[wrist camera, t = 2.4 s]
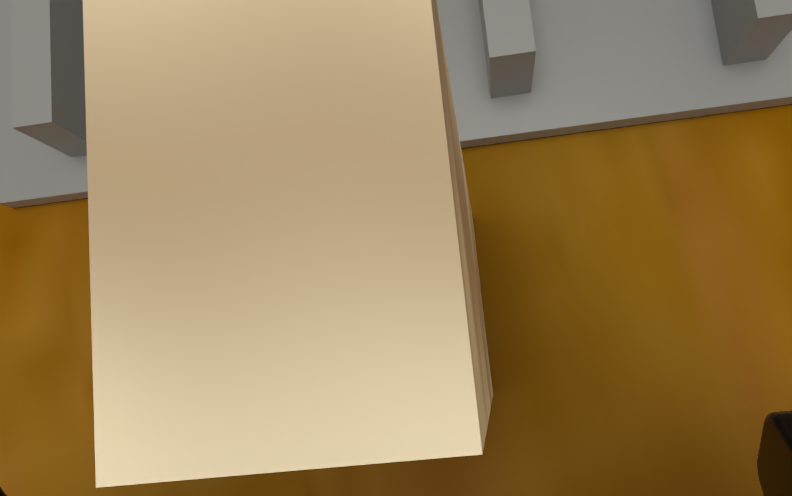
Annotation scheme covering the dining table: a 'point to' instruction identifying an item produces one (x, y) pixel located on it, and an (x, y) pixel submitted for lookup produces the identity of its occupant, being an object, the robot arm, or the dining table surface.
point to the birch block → (277, 240)
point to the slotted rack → (468, 72)
